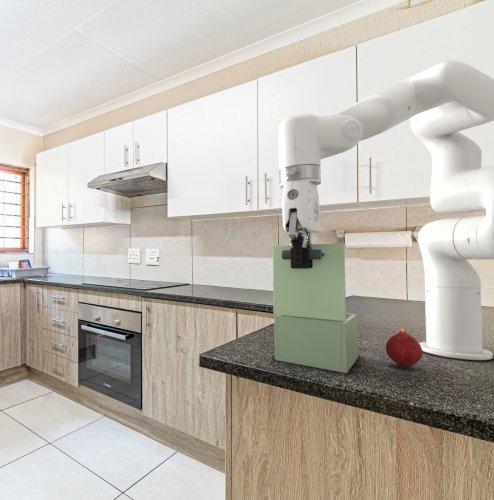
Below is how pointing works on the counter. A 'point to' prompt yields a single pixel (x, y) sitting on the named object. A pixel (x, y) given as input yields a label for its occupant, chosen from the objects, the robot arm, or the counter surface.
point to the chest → (317, 341)
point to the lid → (310, 283)
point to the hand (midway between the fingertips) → (301, 267)
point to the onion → (404, 349)
